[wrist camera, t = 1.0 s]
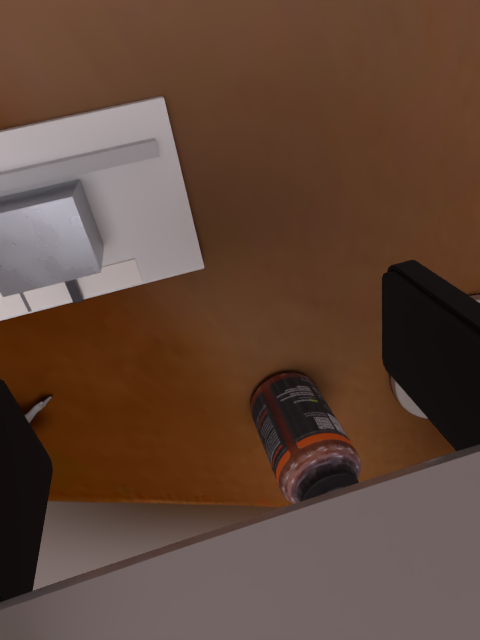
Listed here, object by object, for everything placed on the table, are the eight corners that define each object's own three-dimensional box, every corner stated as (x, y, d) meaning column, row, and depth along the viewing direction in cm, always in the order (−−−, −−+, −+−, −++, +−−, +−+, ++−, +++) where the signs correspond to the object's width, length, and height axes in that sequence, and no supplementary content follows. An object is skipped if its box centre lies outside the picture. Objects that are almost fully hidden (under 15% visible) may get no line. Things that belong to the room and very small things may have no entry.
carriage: (79, 178, 24) (72, 196, 21) (119, 287, 28) (118, 318, 24) (-14, 199, 24) (-37, 221, 20) (38, 307, 27) (26, 342, 24)
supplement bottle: (257, 433, 39) (301, 553, 29) (240, 383, 36) (283, 499, 26) (320, 410, 39) (384, 521, 29) (309, 359, 36) (377, 464, 26)
